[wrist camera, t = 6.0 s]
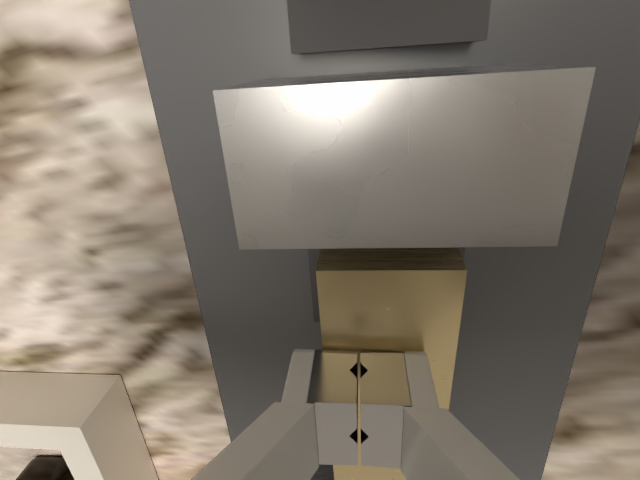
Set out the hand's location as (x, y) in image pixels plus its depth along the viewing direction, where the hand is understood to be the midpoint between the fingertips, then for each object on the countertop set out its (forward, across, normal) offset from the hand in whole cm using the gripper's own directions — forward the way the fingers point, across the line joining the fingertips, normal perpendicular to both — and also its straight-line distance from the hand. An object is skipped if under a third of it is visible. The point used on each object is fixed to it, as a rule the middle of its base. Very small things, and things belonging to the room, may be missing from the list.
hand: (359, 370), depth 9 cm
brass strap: (+2, -1, +4) cm, 4 cm away
